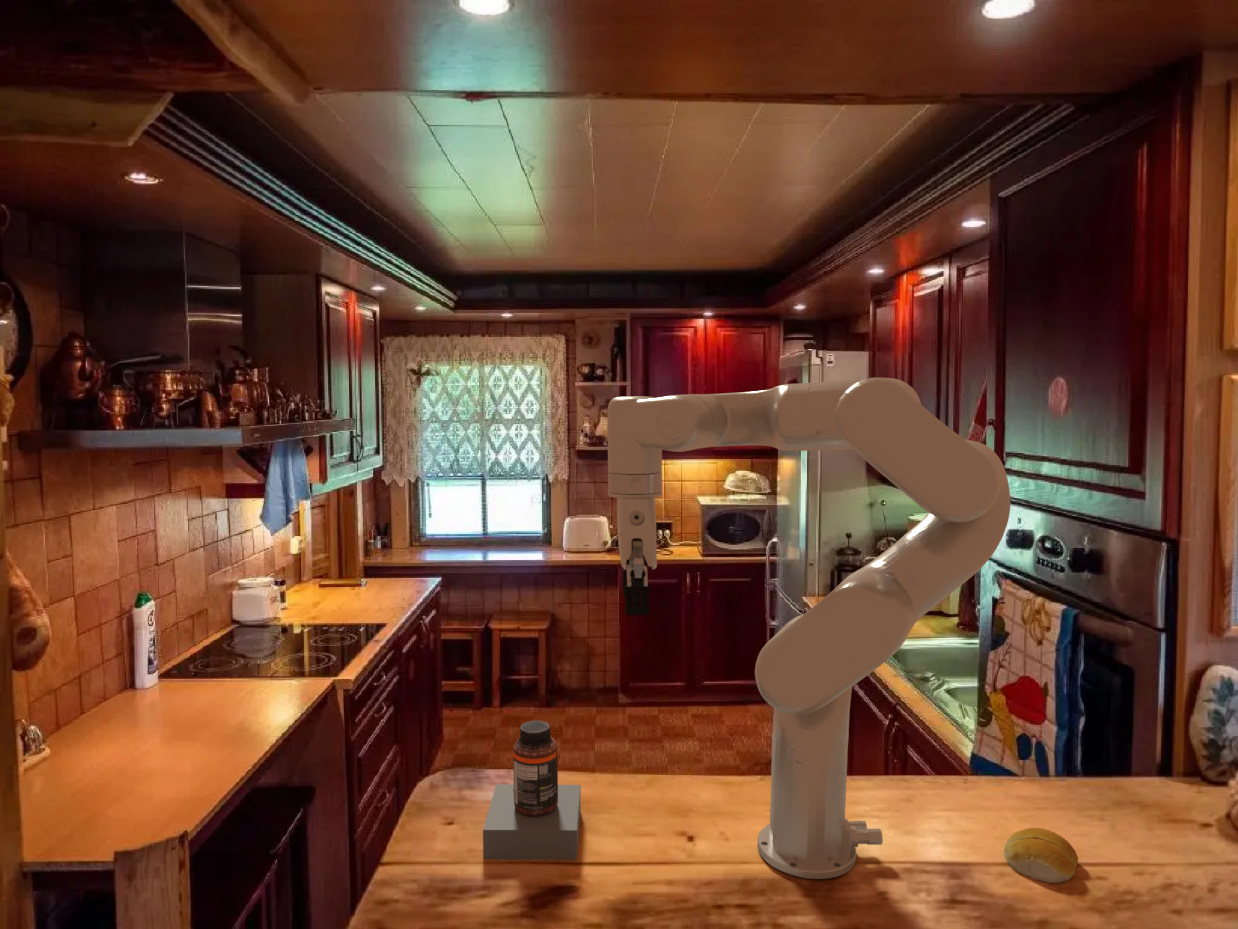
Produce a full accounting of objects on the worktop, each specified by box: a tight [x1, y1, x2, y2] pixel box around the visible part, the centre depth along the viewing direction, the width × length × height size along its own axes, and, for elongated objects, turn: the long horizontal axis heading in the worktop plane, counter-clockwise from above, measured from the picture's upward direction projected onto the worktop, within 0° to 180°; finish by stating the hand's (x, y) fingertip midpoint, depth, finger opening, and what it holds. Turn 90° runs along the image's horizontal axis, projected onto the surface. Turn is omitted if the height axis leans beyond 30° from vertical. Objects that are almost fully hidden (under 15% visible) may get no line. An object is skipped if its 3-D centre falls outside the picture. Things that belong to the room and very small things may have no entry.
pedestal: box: [482, 783, 582, 861], centre depth 111 cm, size 12×12×4 cm
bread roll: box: [1003, 827, 1079, 884], centre depth 106 cm, size 8×9×4 cm
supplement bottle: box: [512, 720, 559, 816], centre depth 111 cm, size 6×6×11 cm
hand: (635, 605), depth 116 cm, fingers open, 9 cm apart
